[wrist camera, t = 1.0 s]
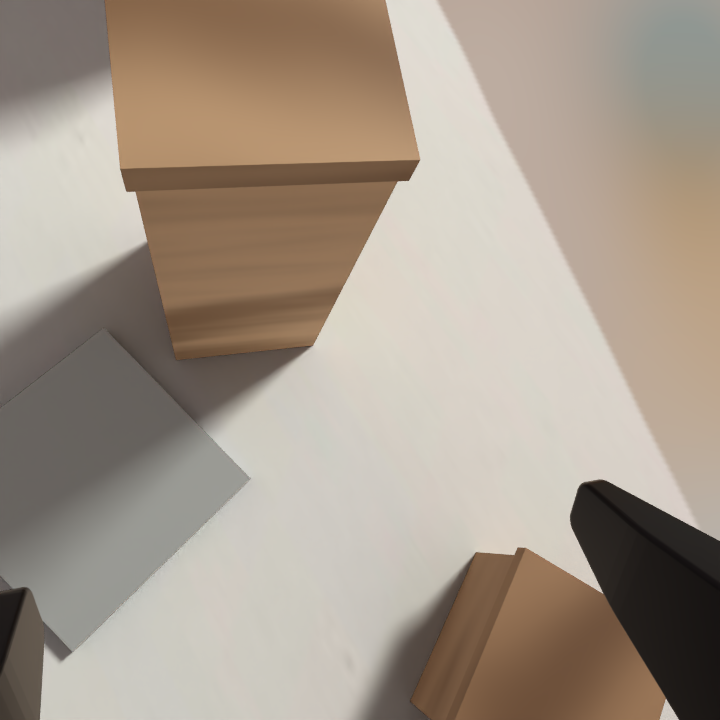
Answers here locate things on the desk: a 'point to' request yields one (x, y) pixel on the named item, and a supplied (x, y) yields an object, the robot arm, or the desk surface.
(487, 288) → the desk surface
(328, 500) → the desk surface
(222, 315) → the oak tea canister
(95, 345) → the coaster
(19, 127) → the desk surface
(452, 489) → the desk surface
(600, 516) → the robot arm
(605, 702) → the walnut trinket box
